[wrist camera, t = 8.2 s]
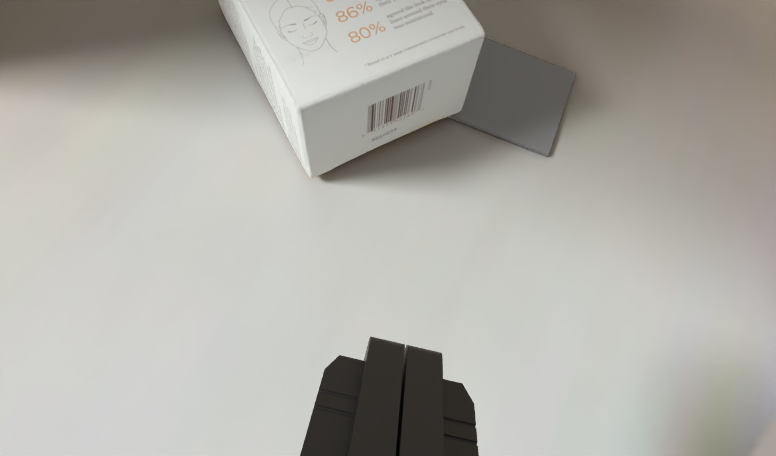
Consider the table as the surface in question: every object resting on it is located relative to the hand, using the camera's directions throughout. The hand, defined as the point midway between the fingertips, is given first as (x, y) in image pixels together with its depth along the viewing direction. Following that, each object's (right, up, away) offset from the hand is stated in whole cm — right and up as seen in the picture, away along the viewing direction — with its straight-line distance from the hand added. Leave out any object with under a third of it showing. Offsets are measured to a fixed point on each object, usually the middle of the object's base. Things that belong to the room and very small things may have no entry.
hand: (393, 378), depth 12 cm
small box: (0, +8, +11) cm, 14 cm away
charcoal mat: (+3, +11, +16) cm, 20 cm away
